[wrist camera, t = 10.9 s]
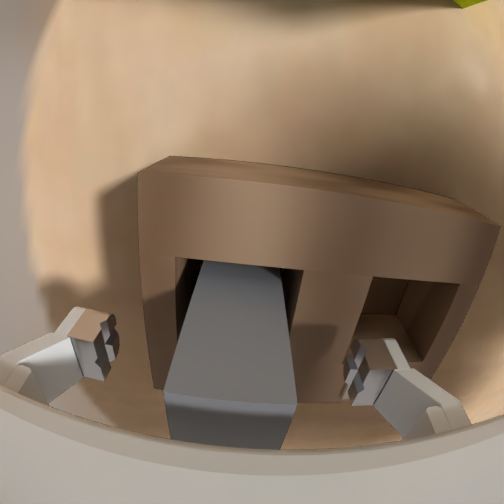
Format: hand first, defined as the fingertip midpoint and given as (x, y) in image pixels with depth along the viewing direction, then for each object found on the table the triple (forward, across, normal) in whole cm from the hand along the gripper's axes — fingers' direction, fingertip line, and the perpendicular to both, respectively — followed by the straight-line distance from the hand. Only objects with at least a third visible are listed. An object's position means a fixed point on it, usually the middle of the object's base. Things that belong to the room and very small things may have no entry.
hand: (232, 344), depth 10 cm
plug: (+6, 0, 0) cm, 6 cm away
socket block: (+6, -4, 0) cm, 7 cm away
